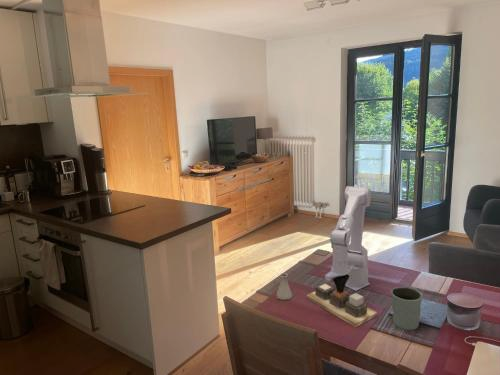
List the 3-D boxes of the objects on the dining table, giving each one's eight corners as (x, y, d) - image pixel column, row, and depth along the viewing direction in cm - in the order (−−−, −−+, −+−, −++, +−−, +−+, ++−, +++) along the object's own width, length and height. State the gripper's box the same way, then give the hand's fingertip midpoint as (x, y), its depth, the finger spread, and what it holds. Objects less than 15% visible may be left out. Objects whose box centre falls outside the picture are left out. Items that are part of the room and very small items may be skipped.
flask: (292, 301, 152) (291, 279, 150) (274, 300, 153) (274, 278, 151) (293, 292, 159) (293, 271, 157) (277, 291, 160) (276, 270, 158)
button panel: (326, 289, 160) (326, 278, 159) (377, 315, 139) (377, 303, 138) (306, 298, 154) (306, 287, 153) (355, 327, 133) (356, 315, 131)
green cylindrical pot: (417, 334, 127) (419, 303, 124) (387, 326, 132) (388, 296, 130) (422, 319, 135) (424, 289, 133) (393, 312, 141) (394, 283, 138)
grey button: (355, 300, 141) (355, 293, 140) (363, 304, 138) (363, 296, 138) (349, 303, 139) (349, 296, 139) (356, 307, 136) (356, 299, 136)
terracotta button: (339, 295, 148) (339, 288, 147) (346, 298, 145) (346, 291, 144) (333, 298, 146) (333, 291, 145) (340, 301, 143) (340, 294, 142)
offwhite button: (325, 290, 155) (325, 283, 154) (331, 293, 152) (331, 287, 151) (319, 293, 153) (319, 286, 152) (325, 296, 150) (325, 289, 149)
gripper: (345, 251, 149) (344, 282, 152) (319, 261, 141) (319, 293, 144) (359, 257, 143) (358, 288, 146) (332, 267, 135) (332, 301, 138)
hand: (340, 291), depth 145 cm, fingers closed, pressing on terracotta button
